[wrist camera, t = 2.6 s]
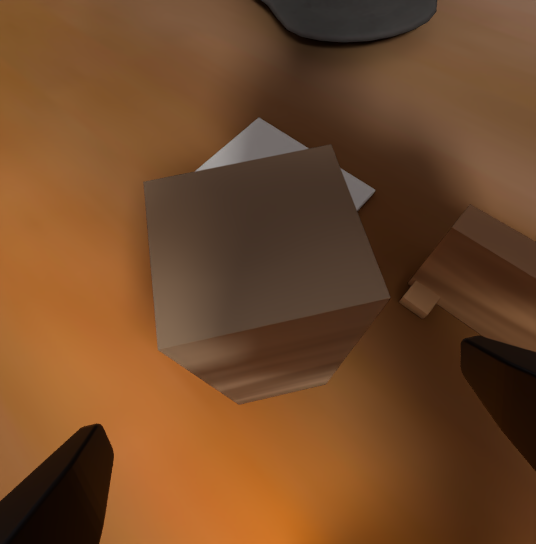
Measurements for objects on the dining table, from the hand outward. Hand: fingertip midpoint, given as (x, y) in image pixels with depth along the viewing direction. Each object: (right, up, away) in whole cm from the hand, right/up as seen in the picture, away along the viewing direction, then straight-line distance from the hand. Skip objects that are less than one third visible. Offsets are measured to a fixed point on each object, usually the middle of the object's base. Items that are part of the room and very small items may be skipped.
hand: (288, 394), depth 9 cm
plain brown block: (0, -1, +10) cm, 10 cm away
